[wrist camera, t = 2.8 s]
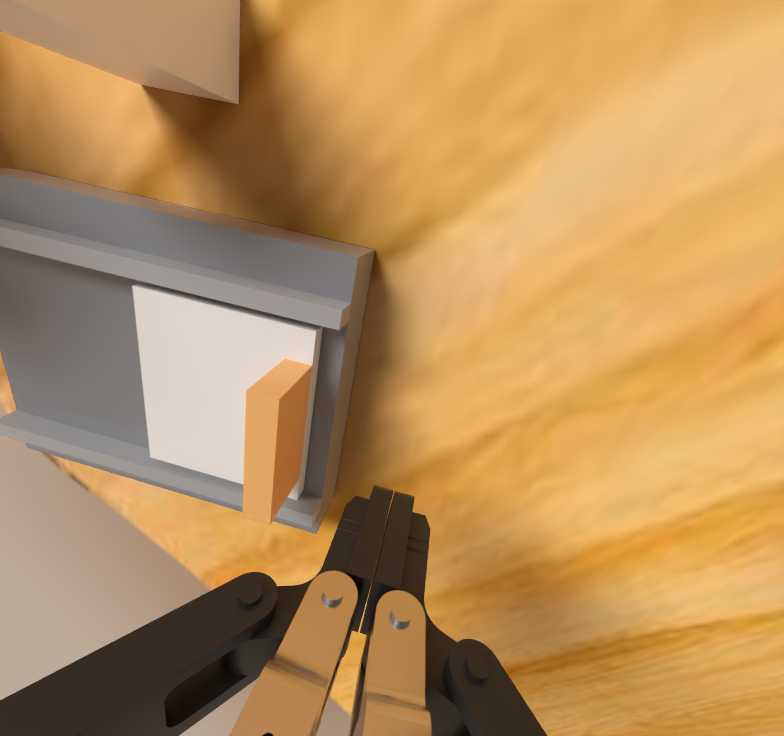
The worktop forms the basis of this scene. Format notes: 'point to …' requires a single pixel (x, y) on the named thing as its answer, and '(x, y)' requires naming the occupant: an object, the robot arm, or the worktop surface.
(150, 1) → the plug
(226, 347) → the shutter
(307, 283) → the grey sliding panel box
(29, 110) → the worktop surface
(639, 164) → the worktop surface
